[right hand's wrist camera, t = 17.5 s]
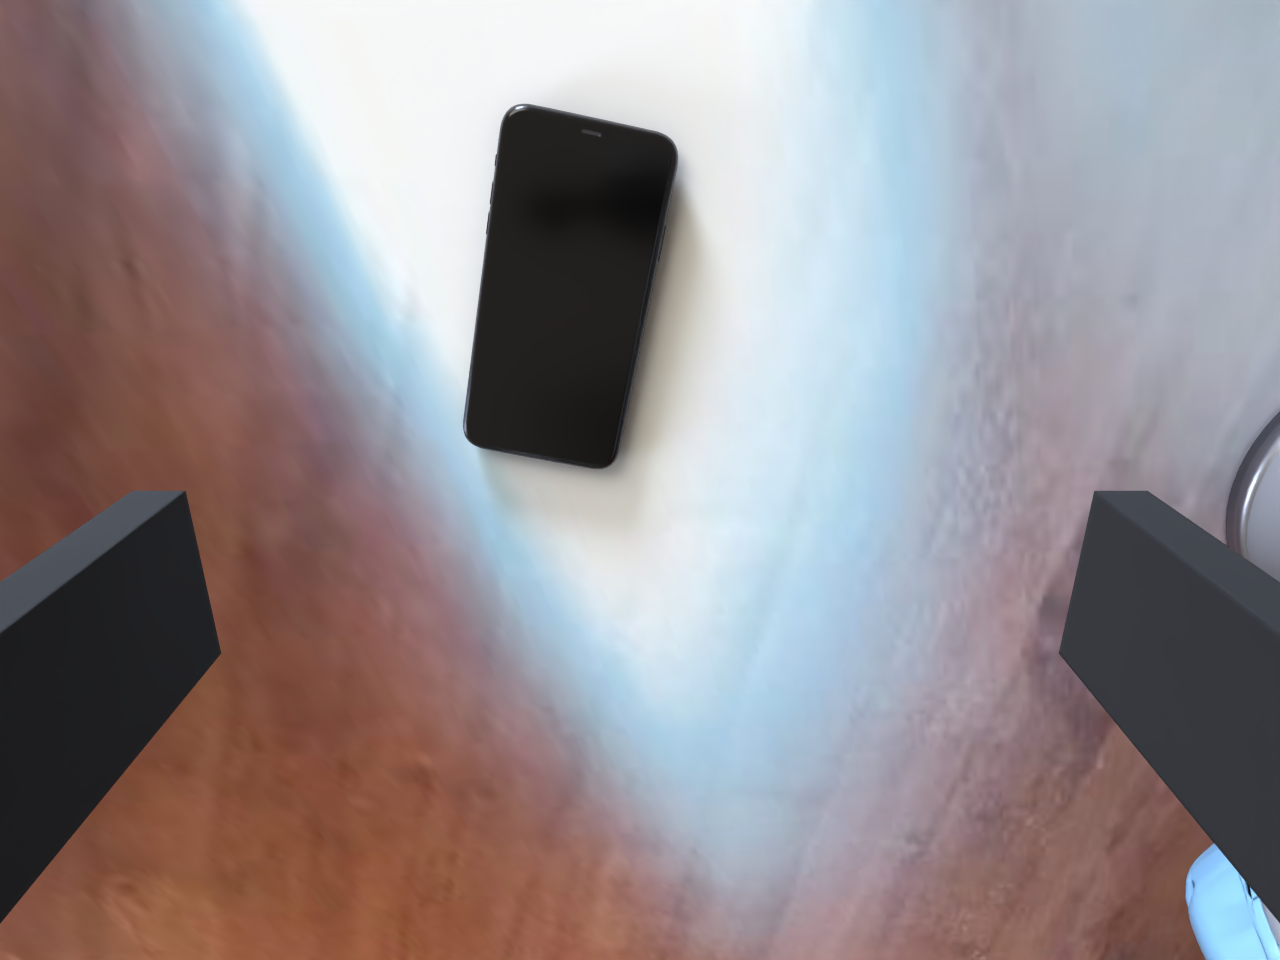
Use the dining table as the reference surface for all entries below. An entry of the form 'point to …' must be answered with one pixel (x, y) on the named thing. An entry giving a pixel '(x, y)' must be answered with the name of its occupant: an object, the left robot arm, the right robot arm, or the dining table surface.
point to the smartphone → (566, 284)
